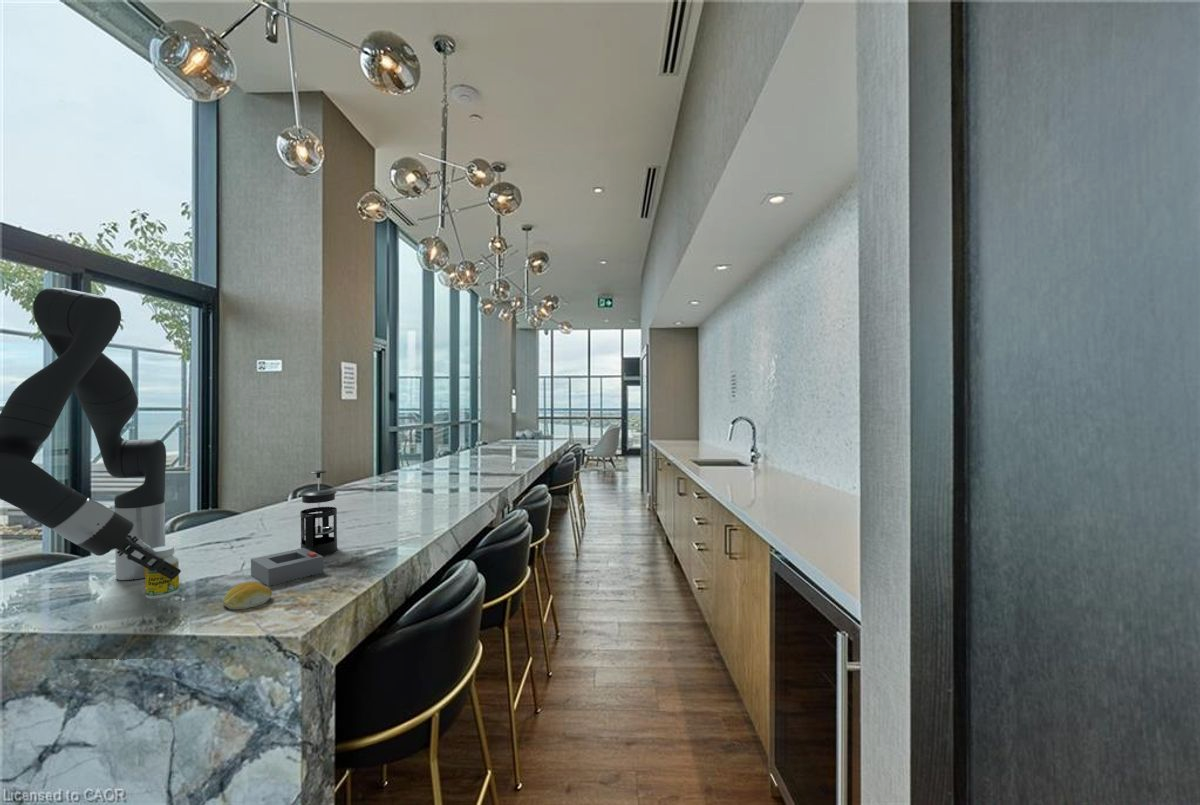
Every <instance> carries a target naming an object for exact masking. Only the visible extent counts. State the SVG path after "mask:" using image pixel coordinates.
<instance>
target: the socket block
mask: <svg viewBox="0 0 1200 805" xmlns="http://www.w3.org/2000/svg"><path fill="white" fill-rule="evenodd" d="M319 573H320V574H324V556H321V555H319V554H317V553H315V552H312V551H310V550H308V549H305V548H301V547H300V548H295V549H292V550H286V551H281V552H277V553H273V554H267V555H263V556H258V557H254V558H250V576H252V577H253V578H254V579H256V580H258V581H259V582H261V583H262V582H263V585H265V584H266V587H272V586H271V585H273V586H275V584H277V585H280V584H279V583H281V584H284V583H283V582H285V583H287V582H286V581H289V582H291V581H290V580H292V581H295V579H296V580H299V579H298V578H300V579H303V578H302V577H304V578H307V577H306V576H308V577H311V576H310V575H312V576H316V575H320V574H319ZM315 574H316V575H315Z"/></svg>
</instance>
